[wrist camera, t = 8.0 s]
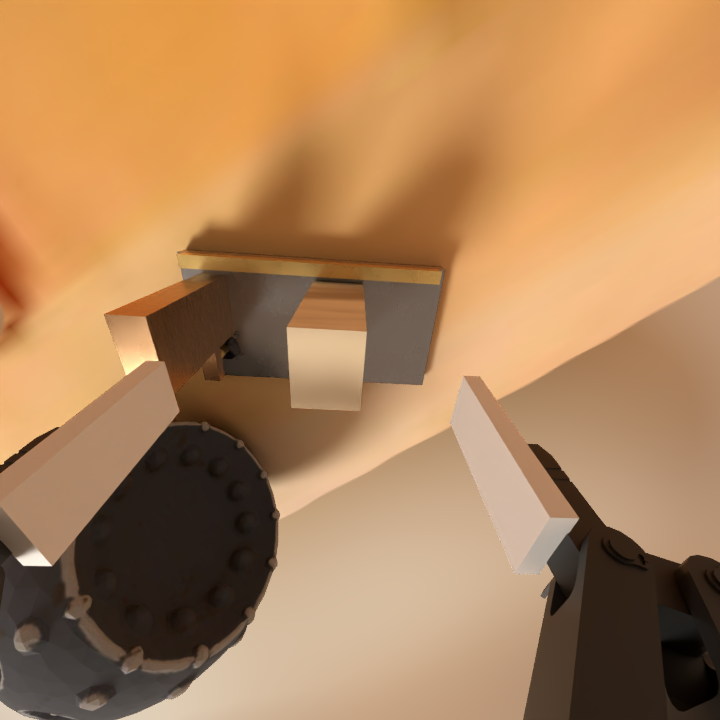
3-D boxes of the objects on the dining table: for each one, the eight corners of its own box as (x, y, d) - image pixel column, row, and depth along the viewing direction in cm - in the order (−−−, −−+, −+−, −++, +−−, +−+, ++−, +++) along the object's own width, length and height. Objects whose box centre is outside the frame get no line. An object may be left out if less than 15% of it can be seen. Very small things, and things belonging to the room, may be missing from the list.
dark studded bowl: (174, 368, 29) (-121, 631, 11) (304, 481, 36) (254, 740, 19) (109, 417, 31) (-209, 689, 14) (243, 512, 39) (150, 763, 22)
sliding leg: (313, 281, 23) (286, 327, 14) (363, 284, 23) (366, 331, 14) (314, 367, 27) (293, 446, 18) (357, 369, 27) (357, 448, 18)
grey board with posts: (185, 249, 23) (59, 281, 13) (441, 266, 24) (499, 308, 14) (209, 367, 29) (131, 453, 19) (419, 378, 29) (451, 466, 19)
